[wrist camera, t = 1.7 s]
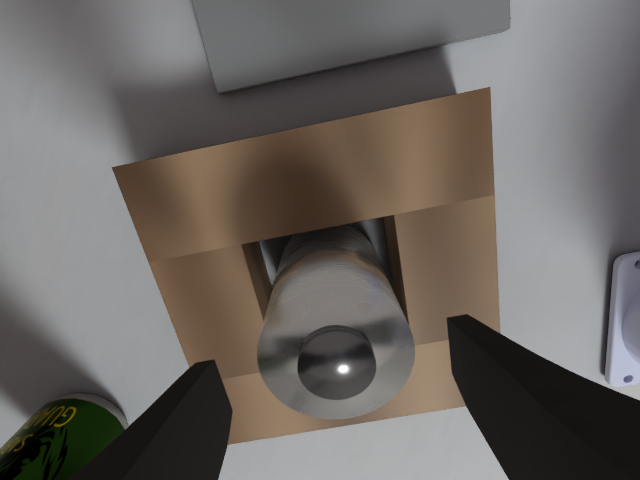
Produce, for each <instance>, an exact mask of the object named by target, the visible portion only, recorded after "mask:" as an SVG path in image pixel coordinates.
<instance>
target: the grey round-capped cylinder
mask: <svg viewBox="0 0 640 480" xmlns="http://www.w3.org/2000/svg"><path fill="white" fill-rule="evenodd" d="M414 359H415V344H414V339H413V335H412V332H411V330H410V327H409V325H408V323H407V320H406V318H405V316H404V314H403V312H402V309H401V307H400V305H399V303H398V301H397V298H396V296H395V294H394V292H393V290H392V287H391V285H390V283H389V281H388V279H387V276H386V274H385V272H384V270H383V267H382V265H381V263H380V261H379V259H378V256H377V254H376V252H375V250H374V248H373V246H372V244H371V243H370V241H369V240H368V239H367V238H366V237H365V236H364V235H363V234H362V233H361V232H359V231H358V230H356V229H354V228H353V227H350V226H348V225H345V224H343V225H338V226H333V227H328V228H323V229H318V230H313V231H307V232H302V233H297V234H296V235H295V236H293V237H292V238H291V240H290V241H289V242H288V243H287V245H286V247H285V249H284V251H283V253H282V256H281V260H280V263H279V267H278V271H277V275H276V278H275V282H274V286H273V289H272V293H271V297H270V300H269V304H268V308H267V311H266V315H265V319H264V322H263V326H262V330H261V334H260V337H259V341H258V346H257V363H258V367H259V371H260V374H261V376H262V379H263V381H264V382H265V384H266V386H267V387H268V389H269V390H270V391H271V393H272V394H273V395H274V396H275V397H276V398H277V399H278V400H280V401H281V402H282V403H283V404H285V405H286V406H288V407H290V408H291V409H293V410H295V411H297V412H299V413H302V414H305V415H308V416H311V417H315V418H320V419H348V418H353V417H358V416H361V415H364V414H367V413H370V412H372V411H374V410H376V409H378V408H380V407H382V406H383V405H385V404H386V403H387V402H389V401H390V400H391V399H393V398H394V397H395V396H396V395H397V394H398V393H399V391H400V390H401V389H402V388H403V386H404V385H405V383H406V382H407V380H408V378H409V376H410V374H411V371H412V368H413V364H414Z"/></svg>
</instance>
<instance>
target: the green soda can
mask: <svg viewBox="0 0 640 480" xmlns="http://www.w3.org/2000/svg"><path fill="white" fill-rule="evenodd" d="M127 428H128V424H127V420H126V418H125V416H124V415H123V413H122V412H121V411H120V409H119V408H117V407H116V406H115V405H114V404H113V403H111V402H110V401H108V400H106V399H104V398H102V397H100V396H97V395H92V394H88V393H71V394H68V395H65V396H62V397H59V398H57V399H55V400H53V401H51V402H48V403H47V404H45V405H44V406H43V407H41V408H40V409H39V410H38V411H37V412H36V413H35V414H34V415H33V416H32V417H31V418H30V419H29V420H28V421H27V422H26V423H25V424H24V425H23V426H22V427H21V428H20V429H19V430H18V431H17V432H16V433H15V434H14V435H13V436H12V437H11V438H10V439H9V440H8V441H7V442H6V443H5V444H4V445H3V446H2V447H1V448H0V480H67V479H68V478H69V477H71V476H72V475H73V474H74V473H76V472H77V471H78V470H79V469H80V468H82V467H83V466H84V465H85V464H87V463H88V462H89V461H90V460H92V459H93V458H94V457H95V456H96V455H98V454H99V453H100V452H101V451H102V450H103V449H105V448H106V447H107V446H108V445H109V444H110V443H111V442H112V441H114V440H115V439H116V438H117V437H118V436H119V435H120V434H121V433H122V432H123V431H124V430H126V429H127Z"/></svg>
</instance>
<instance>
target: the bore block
mask: <svg viewBox="0 0 640 480" xmlns="http://www.w3.org/2000/svg"><path fill="white" fill-rule="evenodd" d="M112 169H113V172H114V175H115V177H116V180H117V182H118V185H119V187H120V190H121V193H122V195H123V198H124V200H125V203H126V205H127V208H128V211H129V213H130V216H131V218H132V221H133V223H134V226H135V229H136V231H137V234H138V236H139V239H140V241H141V244H142V247H143V249H144V252H145V254H146V257H147V259H148V262H149V265H150V267H151V270H152V272H153V275H154V277H155V280H156V283H157V285H158V288H159V290H160V293H161V295H162V298H163V301H164V303H165V306H166V308H167V311H168V313H169V316H170V319H171V321H172V324H173V326H174V329H175V331H176V334H177V337H178V339H179V342H180V344H181V347H182V349H183V352H184V355H185V357H186V360H187V362H188V365H189V367H191V366H192V365H194V364H195V363H196V362H202V361H207V360H213V359H215V362H216V365H217V368H218V370H219V373H220V376H221V379H222V382H223V384H224V387H225V390H226V393H227V396H228V398H229V401H230V404H231V407H232V409H233V413H232V420H231V427H230V434H229V440H228V445H229V444H235V443H241V442H247V441H253V440H259V439H266V438H272V437H278V436H284V435H290V434H297V433H303V432H309V431H315V430H321V429H328V428H334V427H340V426H346V425H352V424H358V423H365V422H371V421H377V420H383V419H389V418H396V417H402V416H408V415H414V414H420V413H426V412H433V411H439V410H445V409H451V408H457V407H464V406H466V405H465V402H464V400H463V398H462V396H461V393H460V391H459V389H458V387H457V384H456V382H455V380H454V377H453V375H452V370H451V360H450V349H449V339H448V328H447V317H453V316H459V315H464V314H468V315H470V316H471V317H473V318H475V319H477V320H478V321H480V322H482V323H483V324H485V325H487V326H488V327H490V328H492V329H493V330H495V331H497V332H498V333H500V319H499V294H498V269H497V244H496V219H495V194H494V170H493V145H492V120H491V95H490V87H488V88H483V89H478V90H474V91H469V92H464V93H460V94H455V95H450V96H445V97H441V98H436V99H431V100H427V101H422V102H417V103H413V104H408V105H403V106H398V107H394V108H389V109H384V110H380V111H375V112H370V113H365V114H361V115H356V116H351V117H347V118H342V119H337V120H333V121H328V122H323V123H318V124H314V125H309V126H304V127H300V128H295V129H290V130H286V131H281V132H276V133H271V134H267V135H262V136H257V137H253V138H248V139H243V140H238V141H234V142H229V143H224V144H220V145H215V146H210V147H206V148H201V149H196V150H191V151H187V152H182V153H177V154H173V155H168V156H163V157H159V158H154V159H149V160H144V161H140V162H135V163H130V164H126V165H121V166H116V167H112ZM379 217H384V224H385V231H386V237H387V244H388V251H389V258H390V264H391V271H392V278H393V285H394V292H395V296H396V298H397V301H398V303H399V305H400V307H401V309H402V312H403V314H404V316H405V318H406V320H407V323H408V325H409V327H410V330H411V332H412V335H413V339H414V344H415V359H414V364H413V368H412V371H411V374H410V376H409V378H408V380H407V382H406V383H405V385H404V386H403V388H402V389H401V390H400V391H399V393H398V394H397V395H396V396H395V397H394V398H393V399H391V400H390V401H389V402H387V403H386V404H385V405H383V406H382V407H380V408H378V409H376V410H374V411H372V412H370V413H367V414H364V415H361V416H358V417H353V418H348V419H320V418H315V417H311V416H308V415H305V414H302V413H299V412H297V411H295V410H293V409H291V408H290V407H288V406H286V405H285V404H283V403H282V402H281V401H280V400H278V399H277V398H276V397H275V396H274V395H273V394H272V393H271V391H270V390H269V389H268V387H267V386H266V384H265V382H264V381H263V379H262V376H261V374H260V371H259V367H258V363H257V346H258V341H259V337H260V334H261V330H262V326H263V322H264V319H265V315H266V311H267V308H268V304H269V300H270V297H271V293H272V288H271V284H270V281H269V277H268V273H267V270H266V266H265V262H264V259H263V255H262V251H261V248H260V244H259V241H261V240H266V239H272V238H277V237H282V236H287V235H292V234H297V233H302V232H307V231H313V230H318V229H323V228H328V227H333V226H338V225H343V224H348V223H354V222H359V221H364V220H369V219H374V218H379Z"/></svg>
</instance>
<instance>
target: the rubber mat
mask: <svg viewBox="0 0 640 480" xmlns="http://www.w3.org/2000/svg"><path fill="white" fill-rule="evenodd" d="M192 3H193V7H194V10H195V14H196V17H197V21H198V25H199V28H200V32H201V36H202V39H203V43H204V47H205V50H206V54H207V58H208V61H209V65H210V69H211V72H212V76H213V80H214V83H215V87H216V91H217V93H219V94H224V93H229V92H233V91H238V90H242V89H247V88H251V87H256V86H260V85H265V84H269V83H274V82H278V81H283V80H287V79H292V78H297V77H301V76H306V75H310V74H315V73H319V72H324V71H328V70H333V69H337V68H342V67H346V66H351V65H355V64H360V63H364V62H369V61H373V60H378V59H382V58H387V57H391V56H396V55H401V54H405V53H410V52H414V51H419V50H423V49H428V48H432V47H437V46H441V45H446V44H450V43H455V42H459V41H464V40H468V39H473V38H477V37H482V36H486V35H491V34H496V33H500V32H503V31H506V30H508V29H510V0H192Z"/></svg>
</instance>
